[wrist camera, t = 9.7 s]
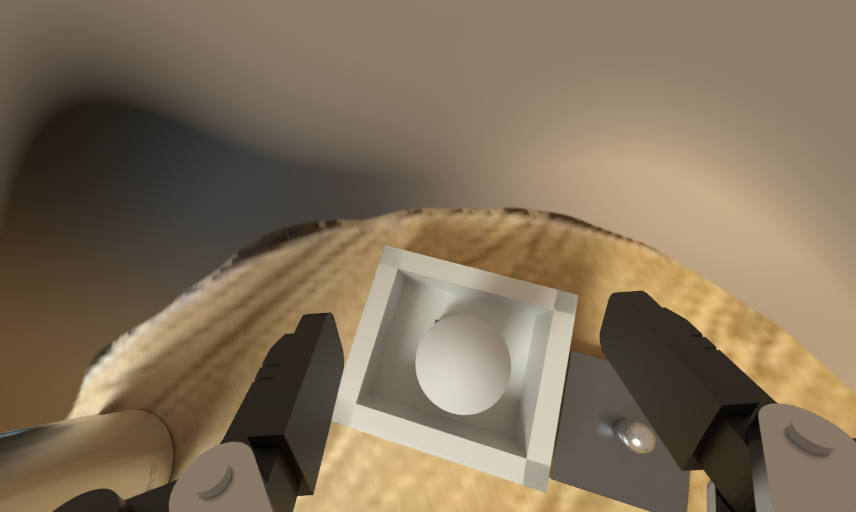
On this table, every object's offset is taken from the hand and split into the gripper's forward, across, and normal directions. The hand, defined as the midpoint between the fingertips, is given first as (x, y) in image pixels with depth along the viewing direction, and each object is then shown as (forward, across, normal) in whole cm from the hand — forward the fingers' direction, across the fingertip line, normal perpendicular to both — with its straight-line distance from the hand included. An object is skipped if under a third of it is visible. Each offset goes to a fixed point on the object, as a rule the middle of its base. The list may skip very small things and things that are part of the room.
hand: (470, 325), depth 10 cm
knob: (+13, -1, +16) cm, 20 cm away
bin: (+14, -1, +16) cm, 21 cm away
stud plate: (+9, -14, +20) cm, 26 cm away
